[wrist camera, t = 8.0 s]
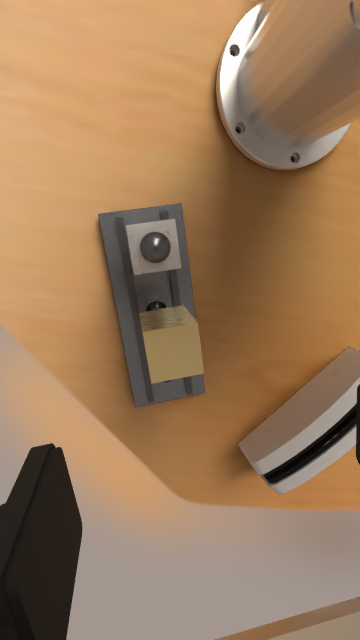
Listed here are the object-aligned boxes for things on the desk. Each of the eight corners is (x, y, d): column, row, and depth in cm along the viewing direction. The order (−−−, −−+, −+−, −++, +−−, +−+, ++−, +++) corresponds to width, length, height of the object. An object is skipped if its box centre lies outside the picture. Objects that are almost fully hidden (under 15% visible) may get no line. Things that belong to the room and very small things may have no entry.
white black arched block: (262, 471, 37) (283, 525, 27) (234, 440, 37) (245, 482, 27) (373, 375, 36) (438, 394, 26) (344, 343, 37) (397, 351, 27)
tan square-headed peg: (136, 298, 28) (142, 332, 18) (172, 292, 29) (197, 322, 18) (142, 333, 29) (151, 383, 19) (177, 326, 30) (204, 373, 19)
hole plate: (99, 214, 28) (84, 201, 18) (178, 204, 29) (207, 186, 19) (134, 401, 32) (139, 472, 23) (202, 387, 33) (234, 450, 23)
